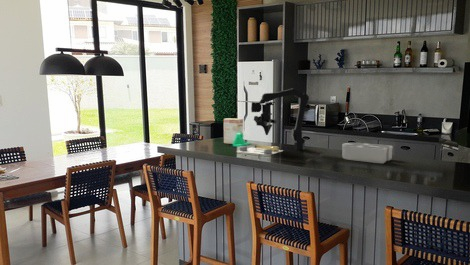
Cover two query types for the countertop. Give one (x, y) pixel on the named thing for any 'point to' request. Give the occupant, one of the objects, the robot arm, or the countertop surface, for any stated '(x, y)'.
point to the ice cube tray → (367, 152)
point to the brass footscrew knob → (267, 147)
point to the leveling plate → (257, 151)
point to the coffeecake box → (232, 129)
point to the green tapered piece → (239, 140)
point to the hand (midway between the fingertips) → (266, 134)
